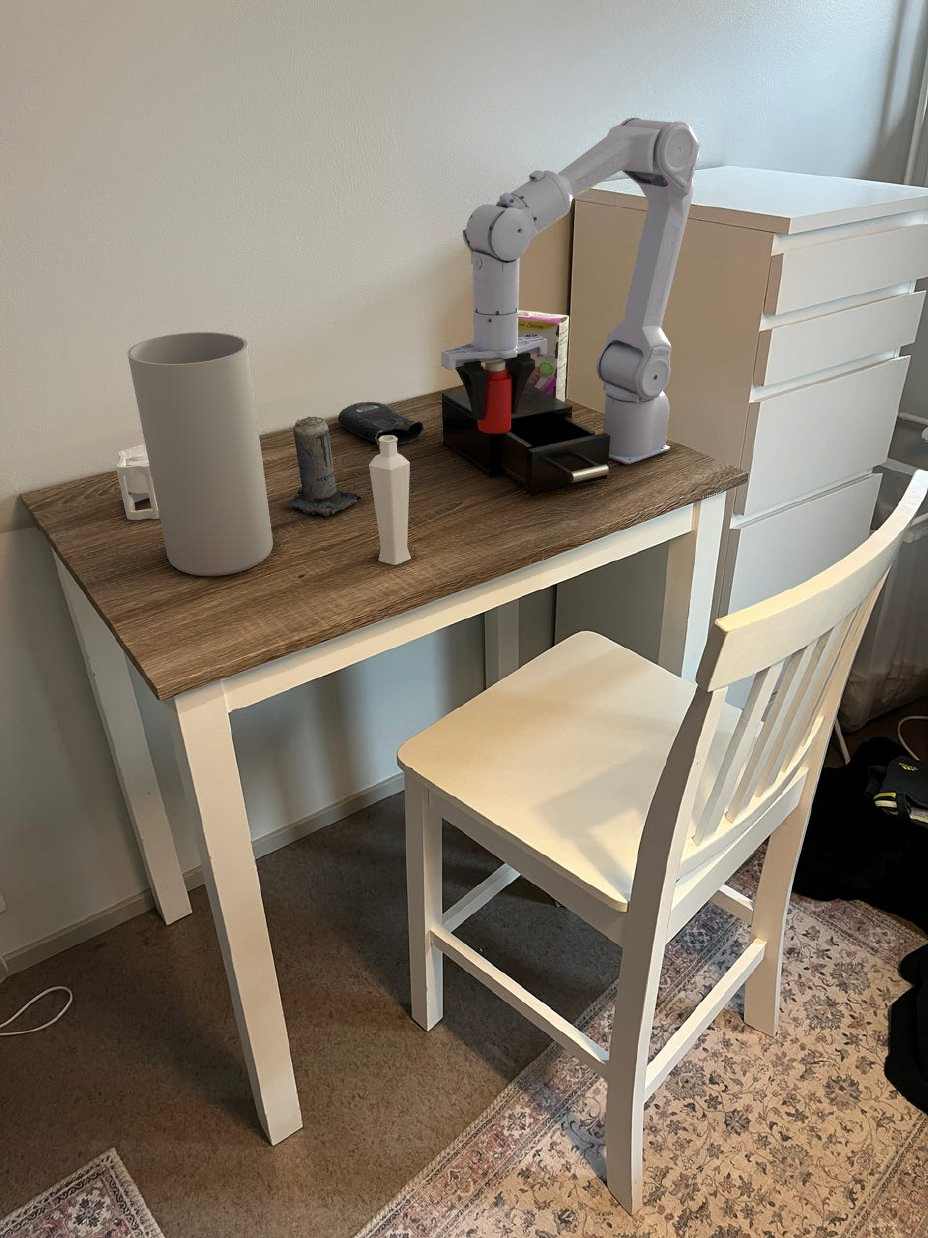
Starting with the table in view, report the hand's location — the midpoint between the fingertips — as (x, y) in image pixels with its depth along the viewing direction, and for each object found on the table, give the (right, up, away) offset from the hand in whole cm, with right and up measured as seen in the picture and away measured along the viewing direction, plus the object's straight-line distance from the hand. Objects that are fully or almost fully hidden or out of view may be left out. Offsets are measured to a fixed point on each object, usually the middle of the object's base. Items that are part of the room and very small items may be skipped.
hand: (494, 414), depth 126 cm
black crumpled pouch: (-18, +3, +25) cm, 31 cm away
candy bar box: (+6, +6, +30) cm, 31 cm away
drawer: (+8, -7, +6) cm, 13 cm away
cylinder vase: (-33, -19, -11) cm, 40 cm away
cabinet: (+2, -2, +17) cm, 17 cm away
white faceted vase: (-12, -20, -12) cm, 26 cm away
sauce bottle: (0, -2, +1) cm, 2 cm away
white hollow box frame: (-41, -10, +5) cm, 43 cm away
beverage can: (-23, -12, +1) cm, 26 cm away
